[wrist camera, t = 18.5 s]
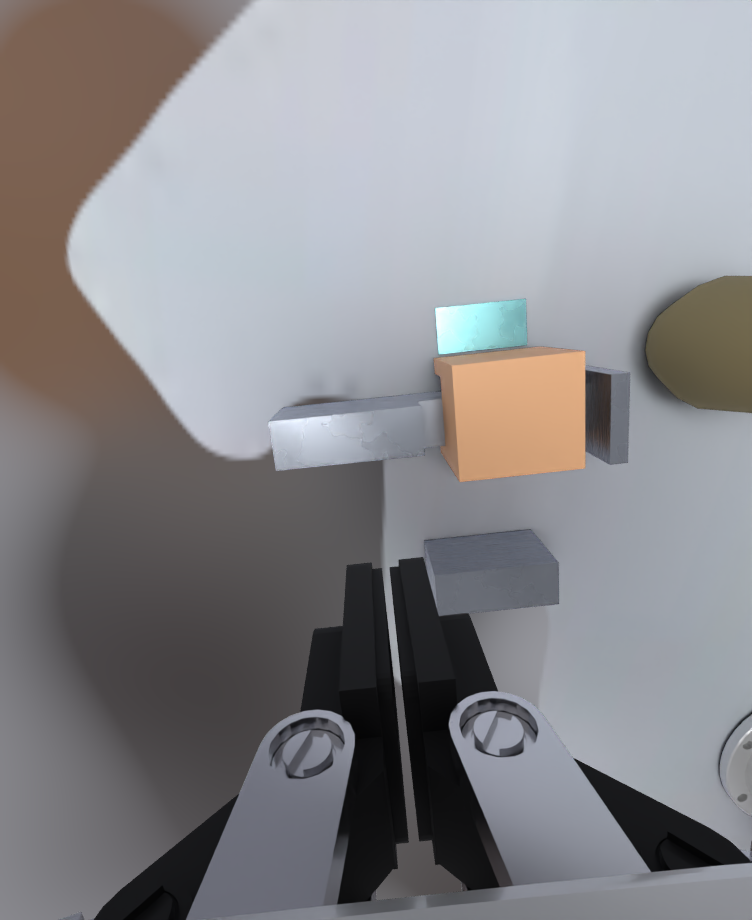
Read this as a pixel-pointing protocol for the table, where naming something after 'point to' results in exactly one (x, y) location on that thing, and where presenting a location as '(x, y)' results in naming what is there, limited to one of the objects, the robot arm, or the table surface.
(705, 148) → the table surface
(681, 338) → the squeeze bottle
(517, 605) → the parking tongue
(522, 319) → the rail
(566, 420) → the block
